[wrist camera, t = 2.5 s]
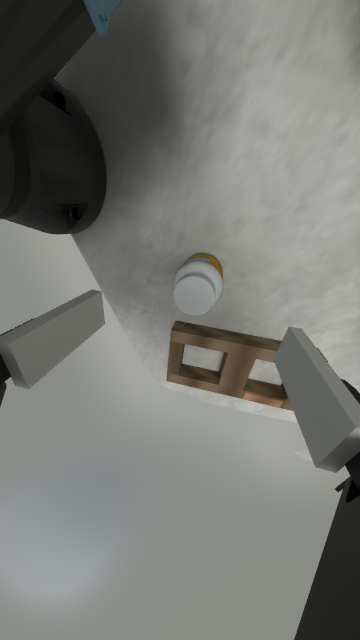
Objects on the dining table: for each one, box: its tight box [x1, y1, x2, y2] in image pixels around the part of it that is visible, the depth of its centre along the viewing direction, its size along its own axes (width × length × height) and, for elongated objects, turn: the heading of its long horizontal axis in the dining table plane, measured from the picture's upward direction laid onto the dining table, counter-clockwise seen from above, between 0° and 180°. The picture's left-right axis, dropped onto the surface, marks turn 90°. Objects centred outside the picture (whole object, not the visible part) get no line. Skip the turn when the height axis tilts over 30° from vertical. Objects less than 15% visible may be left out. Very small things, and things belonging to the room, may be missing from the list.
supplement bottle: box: [173, 253, 223, 316], centre depth 21 cm, size 5×5×10 cm
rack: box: [167, 321, 328, 411], centre depth 30 cm, size 22×11×3 cm, turn 83°
